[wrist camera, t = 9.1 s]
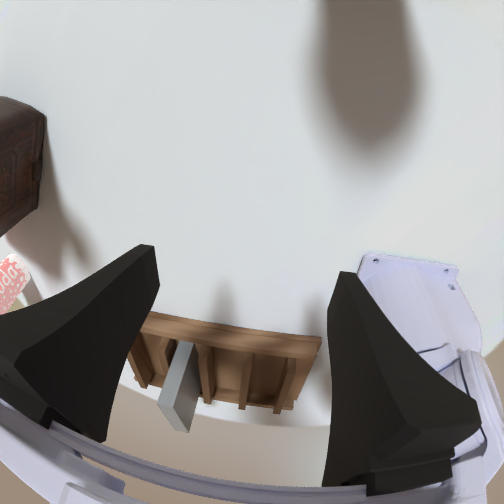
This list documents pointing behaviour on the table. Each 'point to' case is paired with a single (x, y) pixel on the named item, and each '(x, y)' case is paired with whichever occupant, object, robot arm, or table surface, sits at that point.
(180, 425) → the grey upright slab
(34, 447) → the robot arm
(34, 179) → the coffee grinder
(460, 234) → the table surface
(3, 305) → the beverage cup
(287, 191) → the table surface
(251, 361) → the dish rack
